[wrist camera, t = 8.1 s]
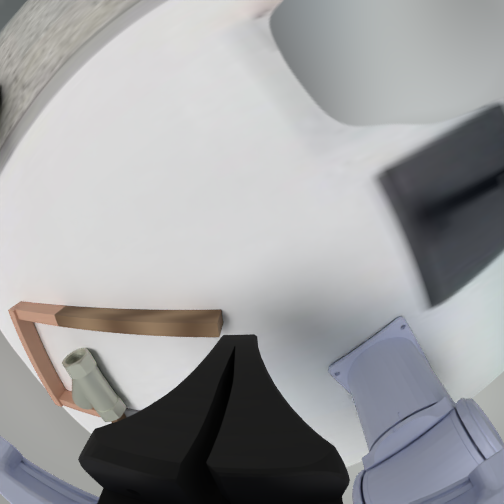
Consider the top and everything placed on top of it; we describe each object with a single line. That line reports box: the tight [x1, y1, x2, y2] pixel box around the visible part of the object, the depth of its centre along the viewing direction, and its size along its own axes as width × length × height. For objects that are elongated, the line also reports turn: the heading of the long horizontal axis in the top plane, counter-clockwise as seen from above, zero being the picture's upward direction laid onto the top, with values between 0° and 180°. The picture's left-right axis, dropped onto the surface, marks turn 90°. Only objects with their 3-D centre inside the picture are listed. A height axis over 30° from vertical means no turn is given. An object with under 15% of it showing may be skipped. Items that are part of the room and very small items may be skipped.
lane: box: [54, 306, 223, 423], centre depth 23 cm, size 16×20×2 cm
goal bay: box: [8, 302, 100, 417], centre depth 23 cm, size 9×14×2 cm, turn 4°
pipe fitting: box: [62, 348, 126, 422], centre depth 23 cm, size 8×4×7 cm
